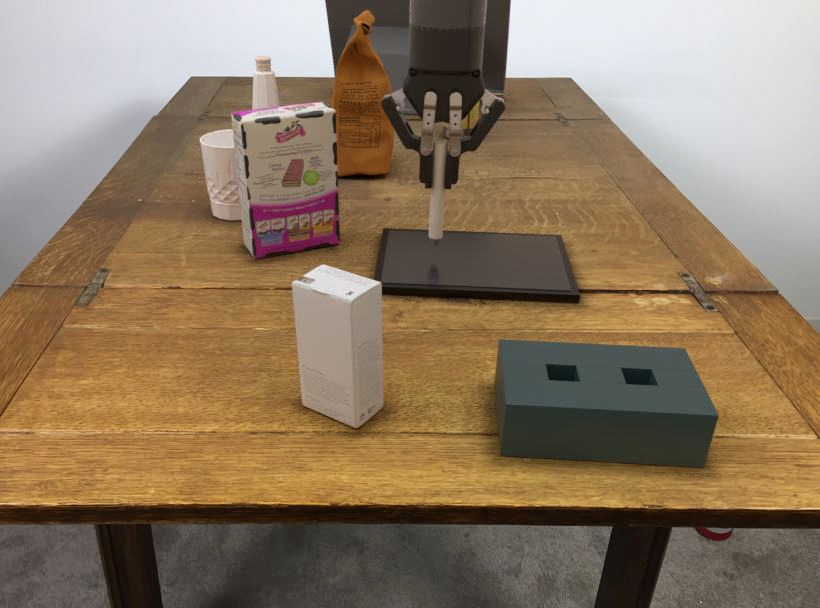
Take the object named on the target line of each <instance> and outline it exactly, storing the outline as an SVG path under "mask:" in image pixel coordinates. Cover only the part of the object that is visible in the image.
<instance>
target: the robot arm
mask: <svg viewBox="0 0 820 608" xmlns="http://www.w3.org/2000/svg"><path fill="white" fill-rule="evenodd" d="M486 7H487V0H410V7H409V14H410V16H409V49H408V73H407V76H406V77H405V79H404V81H403V86H402V87H401V88H399V89H398V90H396V91H394V92H393V93H385V94H384V95H383V98H382V102H381V107H382V108H383V110H384V112H385V114H386V115H387V117H388V119H389V121H390V122H391V124H392V126H393V128H394V132H395V133H396V135H397V136H398V138H399V140H400V142H401V143H402V146H403V147H404V148H405V149H406V150H413V151H415V152H417V153H418V155H419V169H418V171H419V172H418V179H419V180H418V181H419V182H420V184H424V189H427V190H428V189H429V190H431V184H432V164H433V141H434V140H433V139H434V130H435V129H434V128H435V124H437V123H442V122H445V123H449V139H448V141H449V142H448V152H447V159H446V176H445V190H452V185H457V183H458V181H459V174H460V171H459V170H460V158H461V156H462V155H463V154H464V153H468V152H471V153H472V152H475V151H477V150H478V148H479V147H480V146H481V144H482V143H483V141H484V140H485V138H486V137H487V136H488V135H489V133H490V132H491V130H492V128H493V127H494V126H495V124H496V123H497V122H498V120H499V119H500V117H501V116H502V114H503V113H504V112H505V110H506V104H505V100H504V98H503V97H500V96H495V95H493V94H492V93H490V92H489V91H487V90H486V89H485V83H484V80H483V78H482V59H483V46H484V33H485V20H486V13H487V8H486ZM405 97H407V99H408V100H409V102H410V103H411V105H412V106H413V108H414V109H415V111H416V112H417V114H418V115H417V116H418V117H419V118H420V119H421V120H422V125H421V134H420V135H421V136H419V135H417V134H415V132H414V129H413V128H412V127H411V125H410V123H409V121H408V119H407V118H406V116H405V114H403V112H402V111H403V110H404V107H405V103H404V98H405ZM480 100H481V106H480V111H481V115H480V116H479V120H478V121H477V123H476V124H475V126H474V127H473V129H472V130H471V132H470V133H469V134H468V136H466V137H463V138H461V121H462V120H463V119H464V118H465V117H466V116H467V115H468V114H469V112H470V111H471V110H472V109H473V107H474V106H475V105H476V104H477V102H478V101H479V102H480Z"/></svg>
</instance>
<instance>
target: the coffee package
mask: <svg viewBox="0 0 820 608" xmlns="http://www.w3.org/2000/svg"><path fill="white" fill-rule="evenodd" d="M374 21H375V17H374V16H373V15H372V14H371V13H370V11H369V10H366V11H364V12H363V13H362V14H360V15H359V16H357V17H356V18H354V23H355V25H356V27H357V30H356V32H355V34H354V35H353V37H352V38H351V40H350V41H349V43H348V45H347V46H346V48H345V49H344V51H343V53H342V55H341V57H340V60H339V63H338V65H337V70H336V76H335V75H334V82H333V87H332V92H331V101H330V107H331V108H332V109H334V110H336V135H337V164H338V178H341V177H346V176H348V177H349V176H358V175H365V176H366V175H367V176H377V175H382V174H384V175H385V174H387V173H388V172H389V170H390V166H391V161H392V157H393V150H394V141H395V130H394V128H393V126H392V124H391V122H390V121H389V119H388V117H387V115H386V114H385V112H384V110H383V108H382V107H381V102H382V98H383V95H384V94H385V93H392V89H391V83H390V80H389V77H388V74H387V71H386V69H385V67H384V65H383V63H382V61H381V59H380V58H379V56H378V55H377V53H376V52H375V50H374V49H373V48H372V44H371V41H370V37H369V34H370V33H371V32H372V29H371V25H372V24H373V23H374Z"/></svg>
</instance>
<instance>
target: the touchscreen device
mask: <svg viewBox="0 0 820 608" xmlns="http://www.w3.org/2000/svg"><path fill="white" fill-rule="evenodd" d="M324 3H325V10H326V18H327V27H328V33H329V40H330V41H329V42H330V49H331V55H332V64H333V74H334V77H335V76H336V70H337V65H338V63H339V60H340V57H341V55H342V53H343V51H344V49H345V48H346V46H347V45H348V43H349V41H350V40H351V38H352V37H353V35H354V34H355V32H356V30H357V27H356V25H355V23H354V18H356V17H357V16H359V15H360V14H362V13H363V12H364V11H366V10H369V11H370V13H371V14H372V15H373V16H374V17H375V21H374V23H373V24H372V25H371V29H372V32H371V33H370V34H369V37H370V41H371V44H372V48H373V49H374V50H375V52H376V53H377V55H378V56H379V58H380V59H381V61H382V63H383V65H384V67H385V69H386V71H387V74H388V77H389V80H390V83H391V89H392V93H393V92H394V91H396V90H398V89H399V88H401V87H402V86H403V81H404V79H405V77H406V76H407V73H408V49H409V16H410V14H409V7H410V0H324ZM511 5H512V0H487V7H486V8H487V13H486V20H485V33H484V46H483V59H482V78H483V80H484V83H485V89H486V90H487V91H489V92H490V93H502V94H503V93H504V95H495V96H500V97H502V98H503V97H504V96H505V90H506V89H505V88H506V79H507V66H508V65H507V64H508V51H509V49H508V48H509V38H510V37H509V36H510V22H511V21H510V19H511ZM404 103H405V107H404V109H411V110H403V111H402V112H403V114H404V115H415V116H416V115H417V116H419V115H418V114H417V112H416V111H415V109H414V108H413V106H412V105H411V103H410V102H409V100H408V99H407V97H405V98H404Z"/></svg>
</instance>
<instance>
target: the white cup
mask: <svg viewBox="0 0 820 608" xmlns="http://www.w3.org/2000/svg"><path fill="white" fill-rule="evenodd" d="M199 145H200V151H201V158H202V166H203V172H204V178H205V184H206V188H207V195H208V196H209V203H210V209H211V213H212V216H214V217H215V218H217V219H219V220H224V221H242V220H241V210H240V199H239V190H238V179H237V169H236V158H235V148H234V138H233V129H232V128H231V129H220V130H214V131H210V132H208V133H205V134H203V135H201V137H199Z"/></svg>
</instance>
